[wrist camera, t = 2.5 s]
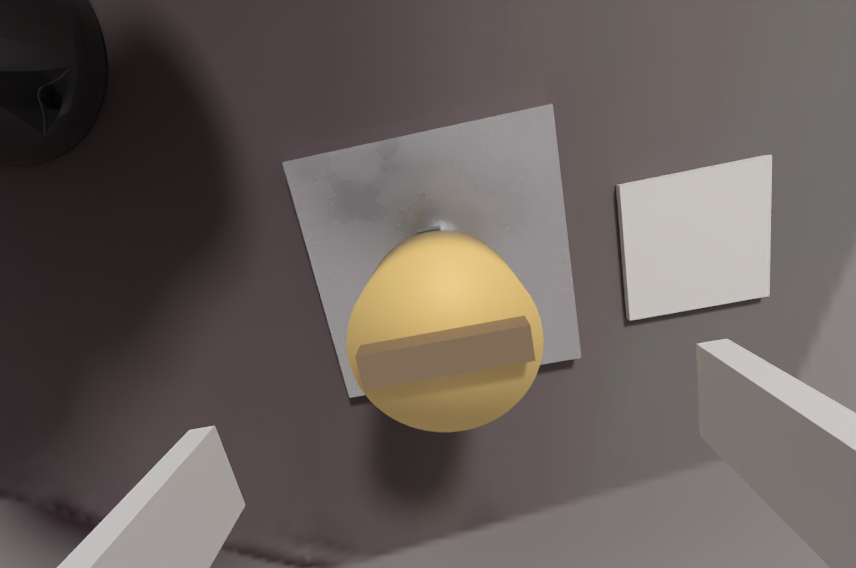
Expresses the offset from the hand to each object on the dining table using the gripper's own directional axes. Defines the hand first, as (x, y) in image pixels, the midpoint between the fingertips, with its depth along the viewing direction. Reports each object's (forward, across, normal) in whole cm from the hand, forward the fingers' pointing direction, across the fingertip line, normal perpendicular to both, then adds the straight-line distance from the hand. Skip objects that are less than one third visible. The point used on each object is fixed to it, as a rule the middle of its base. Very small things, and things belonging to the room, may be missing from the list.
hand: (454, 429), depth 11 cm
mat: (+20, +18, -2) cm, 27 cm away
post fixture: (+20, 0, 0) cm, 20 cm away
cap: (+10, 0, 0) cm, 10 cm away
